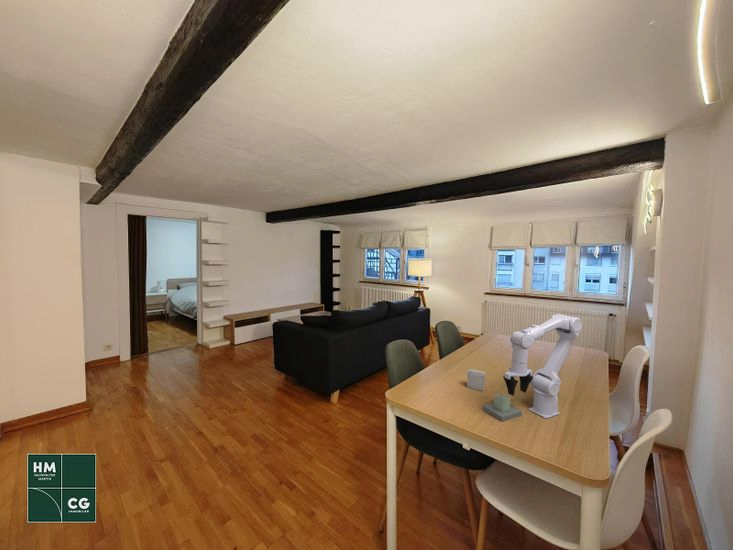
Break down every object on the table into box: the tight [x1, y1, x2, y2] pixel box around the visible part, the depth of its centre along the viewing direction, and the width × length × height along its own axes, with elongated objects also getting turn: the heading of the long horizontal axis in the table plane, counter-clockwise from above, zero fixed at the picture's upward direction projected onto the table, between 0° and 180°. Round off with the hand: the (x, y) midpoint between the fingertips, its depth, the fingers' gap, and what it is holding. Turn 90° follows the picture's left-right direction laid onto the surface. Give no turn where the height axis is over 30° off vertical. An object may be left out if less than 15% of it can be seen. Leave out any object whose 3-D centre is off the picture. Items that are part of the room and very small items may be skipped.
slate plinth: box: [481, 401, 523, 422], centre depth 123 cm, size 12×10×2 cm
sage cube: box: [493, 393, 511, 412], centre depth 122 cm, size 4×4×5 cm
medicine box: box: [466, 368, 486, 392], centre depth 146 cm, size 8×4×9 cm, turn 59°
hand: (517, 393), depth 119 cm, fingers open, 7 cm apart
